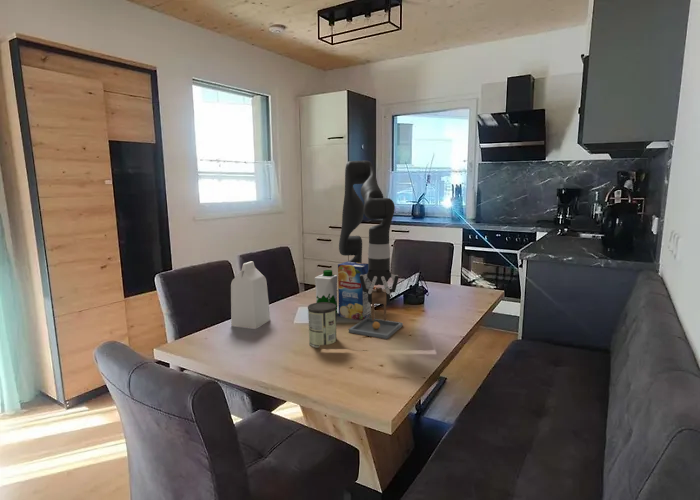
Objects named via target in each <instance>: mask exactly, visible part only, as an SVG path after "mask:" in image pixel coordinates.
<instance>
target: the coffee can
mask: <svg viewBox="0 0 700 500" xmlns="http://www.w3.org/2000/svg"><path fill="white" fill-rule="evenodd" d="M307 312H308V313H307V315H308V316H307V317H308V344H309V346H311V347H313V348H317V349H318V348H320V346H328V345H331V344H334V343H335V342H337V313H336V305H335V304H333V303H328V302H319V303H316V302H314V303H311V304H309V305H308V306H307Z"/></svg>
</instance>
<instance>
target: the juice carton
mask: <svg viewBox="0 0 700 500" xmlns="http://www.w3.org/2000/svg"><path fill="white" fill-rule="evenodd" d="M367 273H368V263H364V262H362V263H356V262H347V261H344V262H342V263H338V264H337V301H338V317H340V318H346V319H352V320H357V321H362V320H363V319H365V318H366V317H368V318H371V317H372V304H370V302H368V293H366V292H363V289H362V285H361V281H360V275H361V274H362V275H365V274H367ZM365 284H366V288H368V289H369V287H370V284H371V281H370V280H369V278H368V277H367V278H366V281H365Z"/></svg>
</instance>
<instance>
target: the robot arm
mask: <svg viewBox="0 0 700 500" xmlns="http://www.w3.org/2000/svg"><path fill="white" fill-rule="evenodd" d="M374 168H375V167H374V165H373V164H372V162H371V161H369V160H351V161H350V160H349V161H347V163H346V165H345V170H344V195H343V196H344V197H343V206H342V216H341V231H340V235H339V236H340V237H339V241H338V243H339V244H338V251H339V253H340V255H341V256H353V258H351V259H350V260H348V261H346V262H356V263H363V261H362V259H363V239H362V237H361V236H360V235H351V234H352V233H353V232H354V231H355V229H356V228H358V227H359V225H360V224H361V223H362V221H363V219H364V217H365V218H367V219H370V220H381V222H380V223H379V224H377V225H372V226H370V227H369V228H368V229H369V230H368V250H367V251H368V252H367V255H368V257H367V261H368V262H367V264H368V273H367V274H365V275H362V274H361V275H360V281H361V285H362V289H363V292H366V293H368V302H370V304H371V305H372V290H373V289H375V286H383V287H384V289H386V305H389V304H390V301H391V294H392V293H395V292H396V289H397V286H398V282H399V275H398V274H392V272H391V248H390V247H391V246H390V231H391V230H390V229H391V225H392V221H393V219H394V218H393V217H394V215H395V210H396V209H395V203H394V201H393V199H391V198H390V197H384V194H383V191H382V189H381V188H380V187H379V184H378V180H377V175H376V172H375V169H374ZM354 185H362V186H361V188H360V194H361V198H360V196H359V195H358V194H357V191H356V190H355V188H354ZM362 199H363V201H362ZM367 277H368V278H369V280H370V281H371V284H370V287H369V289H368V288H366V284H365V281H366V278H367ZM390 279H392V281H393V282H392V285H391V287H390V286H389V284H388V282H389V281H390Z"/></svg>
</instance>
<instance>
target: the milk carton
mask: <svg viewBox="0 0 700 500" xmlns="http://www.w3.org/2000/svg"><path fill="white" fill-rule="evenodd" d="M314 285H315V303H319V302H328V303H333V304H335V305H336V314H338V274H333V269H325V270H323V273H322V274H319V275H317V276H315V277H314Z"/></svg>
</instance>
